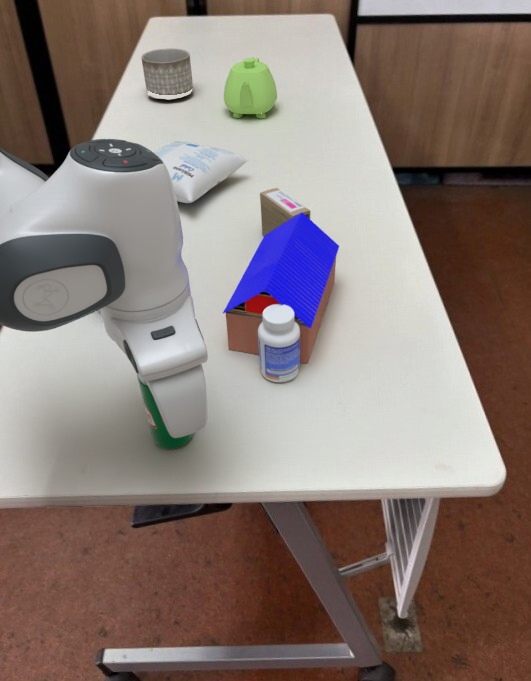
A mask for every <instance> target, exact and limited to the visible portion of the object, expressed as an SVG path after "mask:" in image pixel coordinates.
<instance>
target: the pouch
mask: <svg viewBox="0 0 531 681" xmlns="http://www.w3.org/2000/svg"><path fill="white" fill-rule="evenodd" d="M153 153H154V154H155V155H157V156H158V157H159V158H160V159H161V160H162V161H163V162H164V164H165V165H166V167H167V169H168V172H169V174H170V177H171V180H172V183H173V187H174V191H175V195H176V199H177V202H180V203H185V204H192V203H194V202H195V201H196V200H198V199H200V198H201V197H202V196H204V195H205V194H206V193H207V192H208V191H210V190H211V189H213V188H214V187H216V186H217V185H218V184H220V183H222V182H223V181H225V180H227V178H228V177H230V176H231V175H232V174H234V173H236V172H237V171H238V170H239V169H240V168H242V167H243V166H244V165H246V163H247V162H248V161H250V159H249V158H246V157H245V156H243V155H241V154H238V153H235V152H232V151H230V150H226V149H222V148H219V147H215V146H211V145H205V144H200V143H195V142H190V141H182V140H176V141H173V142H170V143H168V144H165V145H164V146H162V147H161V148H159V149H158V150H156V151H155V152H153Z"/></svg>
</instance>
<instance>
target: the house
mask: <svg viewBox="0 0 531 681" xmlns="http://www.w3.org/2000/svg"><path fill="white" fill-rule="evenodd" d="M339 249H340V245H339V244H338V243H337V242H336V241H335V240H334V239H332V238H331V237H330V236H329V235H328V234H327V233H325V231H324V230H322V228H320V227H319V226H318V225H317V224H316V223H314V221H312V219H311V218H310V219H309V218H308V217H307V216H306V215H305V214H304V213H302V212H301V213H300V214H298V215H296V216H295V217H293V218H292V219H290V220H289V221H287V222H285V223H284V224H282V225H281V226H279V227H278V228H276V229H274V230H273V231H271V232H270V233H268V234H267V235H265V236H264V235H263V237H262V239H261V241H260V243H259V245H258V246H257V249H256V250H255V252H254V253H253V256H252V257H251V260H250V262H249V263H248V266H247V267H246V269H245V270H244V273H243V275H242V276H241V278H240V280H239V282H238V283H237V286H236V288H235V289H234V291H233V293H232V295H231V297H230V299H229V301H228V303H227V305H226V306H225V308H224V310H223V312H222V314H225V321H226V332H227V344H228V350H230V351H234V352H235V351H236V352H241V353H247V354H252V355H258V356H259V342H258V328H259V326H260V324H261V323H262V322H263V321H262V319H263V311H264V309H265V308H267V307H268V306H270V305H273V304H282V305H287V306H289V307H291V308H292V309H293V311H294V321H296V323H297V324H298V325H299V328H300V363H301V364H309V360H310V357H311V354H312V351H313V348H314V345H315V342H316V339H317V336H318V333H319V330H320V328H321V325H322V324H321V323H322V321H323V318H324V315H325V311H326V309H327V306H328V303H329V300H330V297H331V293H332V291H333V287H334V285H335V279H336V265H337V254H338V251H339ZM262 293H264V294H262Z"/></svg>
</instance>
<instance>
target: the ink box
mask: <svg viewBox="0 0 531 681" xmlns="http://www.w3.org/2000/svg"><path fill="white" fill-rule="evenodd" d="M259 200H260V218H261V220H260V221H261V234H262V236H263V237H264V236H265V235H267V234H268V233H270V232H271V231H273V230H274V229H276V228H278V227H279V226H281V225H282V224H284V223H285V222H287V221H289V220H290V219H292V218H293V217H295V216H296V215H298V214H300V213H301V212H302V213H304V214H305V215H306V216H307V217H308V218H309V219H310V220H311V209H309V208H307V207H306V206H304V205H303V204H302V203H300V202H298V201H297V200H296V199H294V198H293V197H291V196H290V195H289V194H287V193H285V192H284V191H283V190H282V189H279V188H278V187H273V188H270V189H267V190H264V191H261V192H260V193H259Z"/></svg>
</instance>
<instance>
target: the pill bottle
mask: <svg viewBox="0 0 531 681" xmlns="http://www.w3.org/2000/svg"><path fill="white" fill-rule="evenodd" d="M262 316H263V319H262V321H263V322H262V323H261V324H260V326H259V328H258V342H259V355H258V358H259V370H260V373H261V375H262V377H264V379H266V380H267V381H270V382H272V383H273V382H274V383H285V382H286V383H287V382H289V381H291V380H293V379H294V378H296V377H297V376H298V374H299V372H300V365H301V364H300V363H301V362H300V328H299V325H298V324H297V323H296V321H294V319H295V317H294V311H293V309H292V308H291V307H289V306H287V305H282V304H273V305H270V306H268V307H267V308H265V309H264V311H263V315H262Z"/></svg>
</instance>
